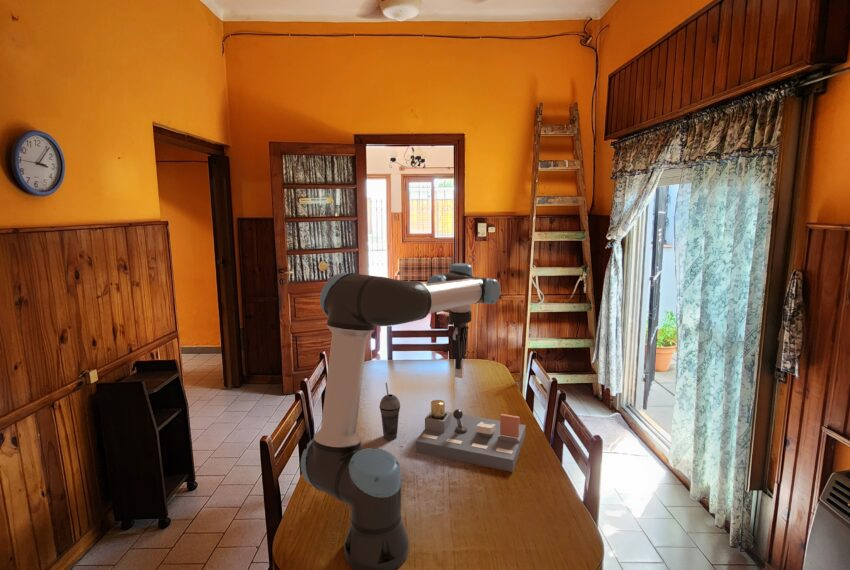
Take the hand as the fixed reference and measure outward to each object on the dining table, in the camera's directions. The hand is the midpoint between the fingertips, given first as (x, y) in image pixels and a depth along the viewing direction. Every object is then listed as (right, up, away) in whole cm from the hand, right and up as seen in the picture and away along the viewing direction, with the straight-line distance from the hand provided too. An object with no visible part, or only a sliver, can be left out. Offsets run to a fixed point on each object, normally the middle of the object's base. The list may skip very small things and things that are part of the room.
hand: (459, 376), depth 160 cm
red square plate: (+16, -18, -6) cm, 25 cm away
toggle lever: (+1, -17, 0) cm, 17 cm away
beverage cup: (-24, -22, +4) cm, 33 cm away
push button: (-7, -15, +2) cm, 17 cm away
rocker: (+9, -17, -4) cm, 19 cm away
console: (+4, -23, -1) cm, 23 cm away
